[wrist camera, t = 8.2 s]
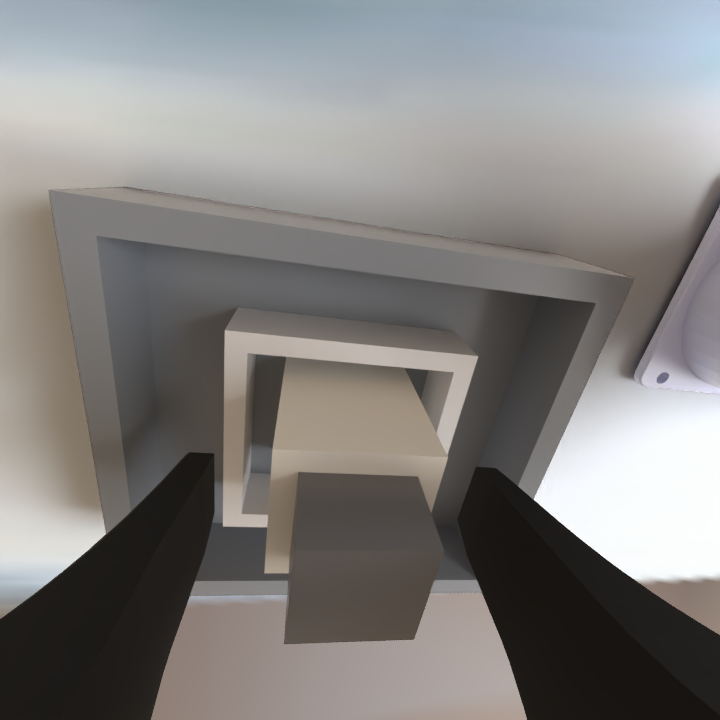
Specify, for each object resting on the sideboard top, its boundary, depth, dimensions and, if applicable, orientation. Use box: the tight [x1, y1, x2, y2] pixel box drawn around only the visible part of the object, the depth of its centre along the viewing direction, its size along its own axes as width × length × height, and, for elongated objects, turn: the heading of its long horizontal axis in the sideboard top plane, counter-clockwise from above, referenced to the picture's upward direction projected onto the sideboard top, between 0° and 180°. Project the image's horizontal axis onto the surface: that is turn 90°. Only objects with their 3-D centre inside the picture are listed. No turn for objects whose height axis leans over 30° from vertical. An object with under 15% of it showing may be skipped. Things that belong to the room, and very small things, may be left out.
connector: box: [264, 357, 448, 644], centre depth 11 cm, size 4×4×7 cm
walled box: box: [49, 187, 635, 596], centre depth 13 cm, size 14×13×4 cm
